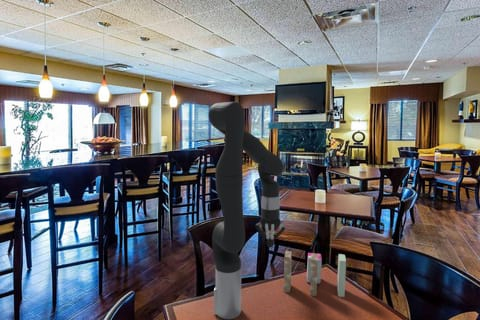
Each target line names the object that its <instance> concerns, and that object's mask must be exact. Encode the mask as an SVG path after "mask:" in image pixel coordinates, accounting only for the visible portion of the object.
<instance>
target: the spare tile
mask: <svg viewBox="0 0 480 320" xmlns="http://www.w3.org/2000/svg"><path fill="white" fill-rule="evenodd" d="M337 258H338V259H337V260H338V261H337V279H336V280H337V281H336V282H337V284H336V291H337V297H340V298H345V293H346V291H345V290H346V289H345V288H346V275H347V273H346V271H347V258H346V255H345V254H342V253H338V256H337Z"/></svg>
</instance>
